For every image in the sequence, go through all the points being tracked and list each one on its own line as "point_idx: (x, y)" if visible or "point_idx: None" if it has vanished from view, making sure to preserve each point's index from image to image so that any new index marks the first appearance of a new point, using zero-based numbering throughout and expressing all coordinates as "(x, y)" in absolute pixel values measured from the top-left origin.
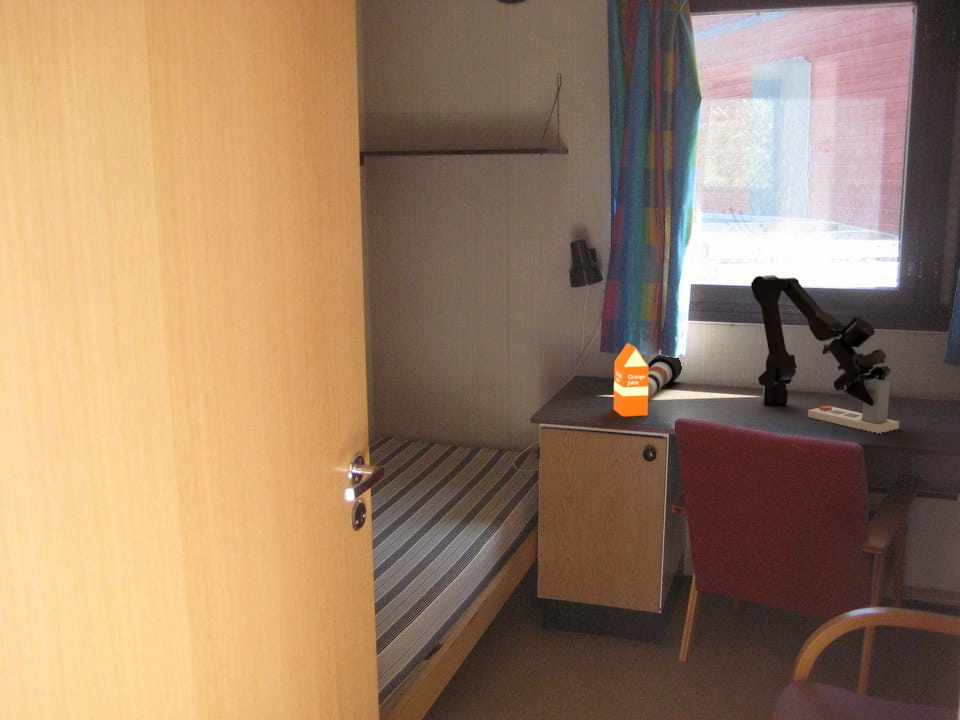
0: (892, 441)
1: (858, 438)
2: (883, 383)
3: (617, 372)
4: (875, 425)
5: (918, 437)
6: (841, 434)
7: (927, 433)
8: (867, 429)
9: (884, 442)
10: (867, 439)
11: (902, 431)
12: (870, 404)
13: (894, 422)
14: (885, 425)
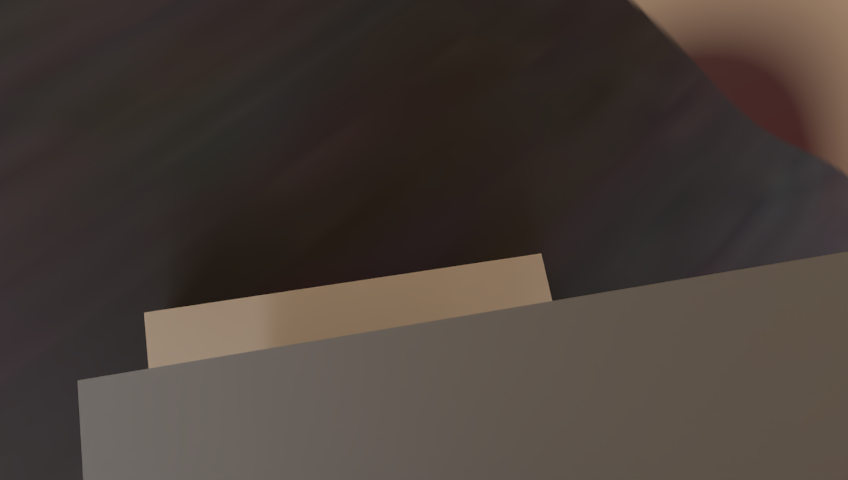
0: (586, 48)
1: (778, 239)
2: (683, 279)
3: None
4: (550, 300)
5: (281, 19)
6: None
7: (65, 63)
8: None
9: (664, 60)
10: (730, 183)
11: (226, 228)
12: None
13: (241, 303)
14: (426, 272)
